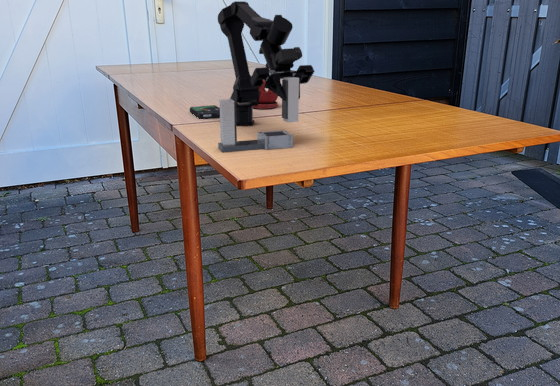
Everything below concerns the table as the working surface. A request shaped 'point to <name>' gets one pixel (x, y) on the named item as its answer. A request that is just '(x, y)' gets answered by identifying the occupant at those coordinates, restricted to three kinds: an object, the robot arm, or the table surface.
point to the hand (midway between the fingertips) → (292, 99)
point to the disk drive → (206, 112)
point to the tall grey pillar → (290, 99)
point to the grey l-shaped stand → (263, 140)
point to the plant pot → (266, 98)
